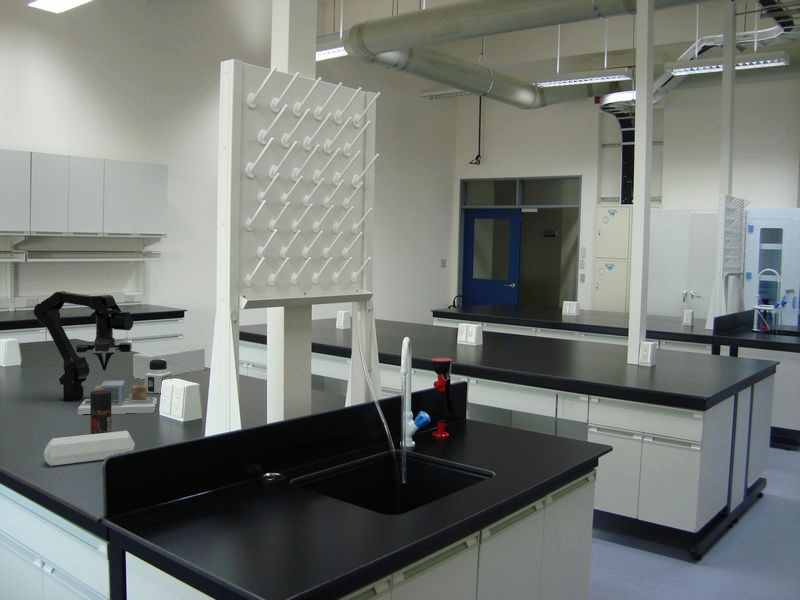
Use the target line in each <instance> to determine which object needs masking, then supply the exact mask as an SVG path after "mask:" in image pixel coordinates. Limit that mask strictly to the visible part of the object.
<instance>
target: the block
mask: <svg viewBox="0 0 800 600" xmlns="http://www.w3.org/2000/svg"><path fill="white" fill-rule="evenodd" d="M131 394H132V400H146V397H148V396H147V394H148V393H147V385H145V384H133V385H132V388H131Z"/></svg>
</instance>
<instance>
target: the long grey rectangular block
mask: <svg viewBox="0 0 800 600" xmlns="http://www.w3.org/2000/svg"><path fill="white" fill-rule="evenodd" d="M155 359H163V360H165V361H167V371H166V372H171V375H175V374H179V373H183V372H191V371H199V370H205V371H206V369H205V368H204V367H206V366H205V364H206V363H205V362H206V348H203V347H198V346H196V347H195V346H189V345H188V346H181V347H175V348H168V349H161V350H155V351H154V350H153V351H147V352H141V353H140V352H139V353H133V354H132V363H133V364H132V365H133V366H132V367H133V368H132V372H133V373H132V374H133V375H132V378H133V377H135V378H134V379H136V378H140V379H139V380H141V379H145V374H146V373H149V372H150V361H152V360H155Z"/></svg>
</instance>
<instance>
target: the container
mask: <svg viewBox="0 0 800 600" xmlns="http://www.w3.org/2000/svg"><path fill="white" fill-rule="evenodd" d="M166 371H167V361H165V360H163V359H155V360H152V361H150V372H149V373H146V374H145V380H144V385H147V394H153V393H159V394H158V395H161V394H160V392H161V385H162V381H163V380H165V379H171V380H172V377H171V372H166Z"/></svg>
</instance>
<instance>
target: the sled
mask: <svg viewBox="0 0 800 600" xmlns="http://www.w3.org/2000/svg"><path fill="white" fill-rule="evenodd" d="M101 385H102V384H101ZM101 385H99V384H98V385H97V384H96V386H95V387H94V391H96V390H101ZM153 398H154V396H147V397H146V400H132V393H129V395H128V397H127V398H122V401H128V402H145V401H152V400H153ZM111 401H119V399H111Z"/></svg>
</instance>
